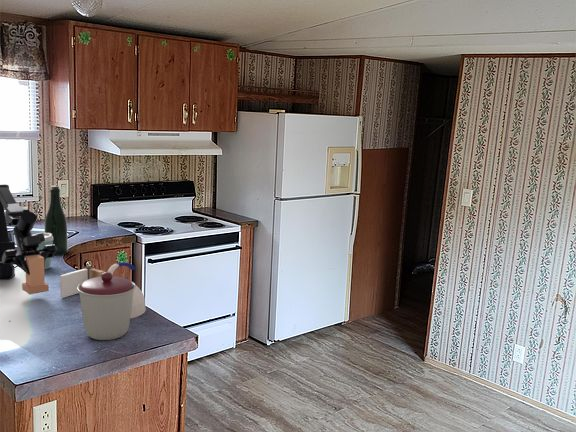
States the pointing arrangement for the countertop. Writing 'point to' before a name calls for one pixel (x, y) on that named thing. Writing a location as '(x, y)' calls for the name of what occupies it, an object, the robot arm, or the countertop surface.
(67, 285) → the door
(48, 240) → the disposable coffee cup
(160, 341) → the countertop surface
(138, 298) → the kettle
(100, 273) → the door frame
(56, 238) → the beer bottle
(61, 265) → the countertop surface
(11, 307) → the countertop surface
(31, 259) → the tan square pedestal
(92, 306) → the canister
